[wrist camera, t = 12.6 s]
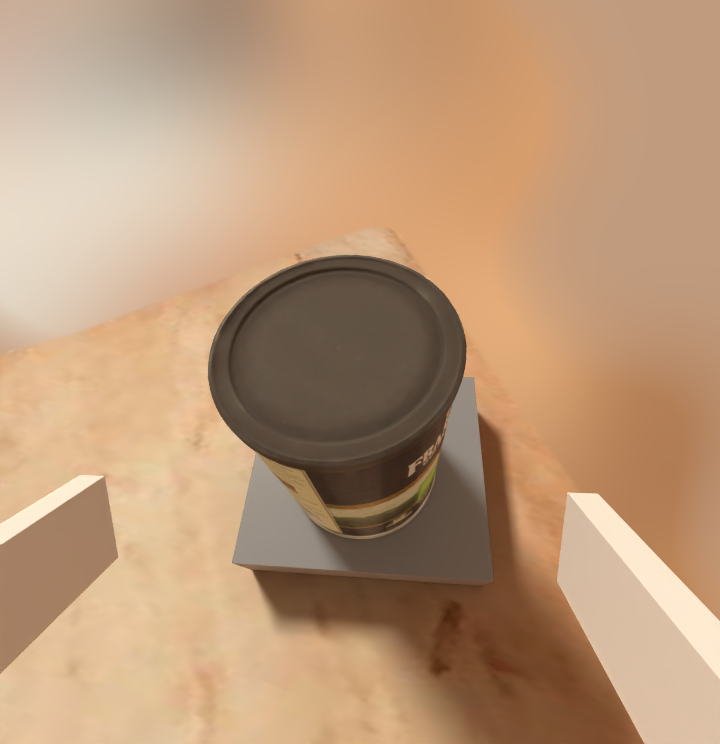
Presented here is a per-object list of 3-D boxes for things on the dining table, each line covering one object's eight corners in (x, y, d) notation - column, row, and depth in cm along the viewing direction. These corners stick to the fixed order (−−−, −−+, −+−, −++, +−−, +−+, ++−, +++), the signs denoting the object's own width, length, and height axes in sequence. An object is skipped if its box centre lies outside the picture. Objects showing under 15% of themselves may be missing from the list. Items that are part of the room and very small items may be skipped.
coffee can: (448, 413, 29) (484, 270, 17) (418, 561, 24) (439, 504, 12) (318, 383, 31) (269, 239, 19) (265, 513, 26) (155, 426, 14)
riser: (251, 569, 28) (231, 563, 25) (284, 397, 35) (273, 373, 32) (481, 586, 26) (493, 581, 23) (466, 401, 34) (473, 377, 30)
